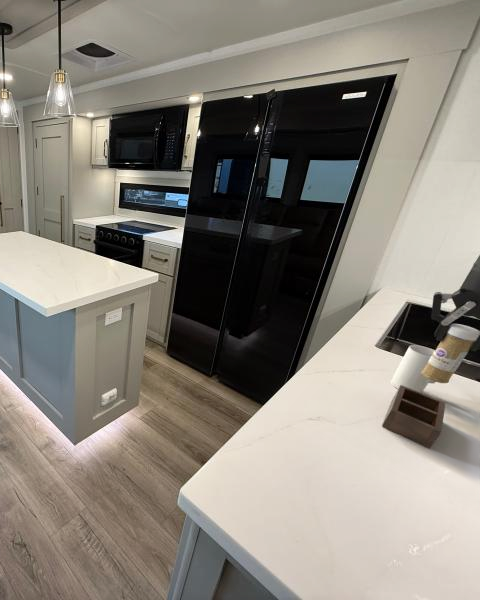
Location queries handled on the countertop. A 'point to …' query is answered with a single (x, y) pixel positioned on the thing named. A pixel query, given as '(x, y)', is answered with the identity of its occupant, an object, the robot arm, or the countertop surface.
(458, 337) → the sprinkles bottle
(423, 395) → the rack
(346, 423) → the countertop surface
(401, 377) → the mug
